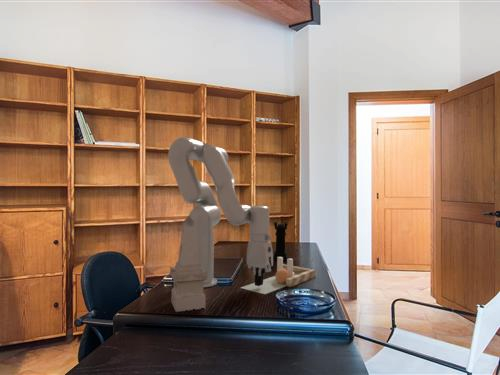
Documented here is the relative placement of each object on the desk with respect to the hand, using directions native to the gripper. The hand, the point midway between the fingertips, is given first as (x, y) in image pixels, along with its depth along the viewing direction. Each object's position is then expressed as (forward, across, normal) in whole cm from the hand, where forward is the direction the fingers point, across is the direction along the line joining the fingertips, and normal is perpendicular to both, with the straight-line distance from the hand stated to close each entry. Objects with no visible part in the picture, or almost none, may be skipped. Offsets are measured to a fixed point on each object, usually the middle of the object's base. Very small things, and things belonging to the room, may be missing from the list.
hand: (258, 285), depth 137 cm
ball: (-2, -3, -12) cm, 13 cm away
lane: (+2, 0, -13) cm, 13 cm away
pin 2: (+2, -3, -18) cm, 18 cm away
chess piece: (+2, +24, -50) cm, 56 cm away
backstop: (+2, +1, -20) cm, 20 cm away
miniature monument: (+2, +7, +30) cm, 31 cm away
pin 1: (+2, +2, -18) cm, 18 cm away
